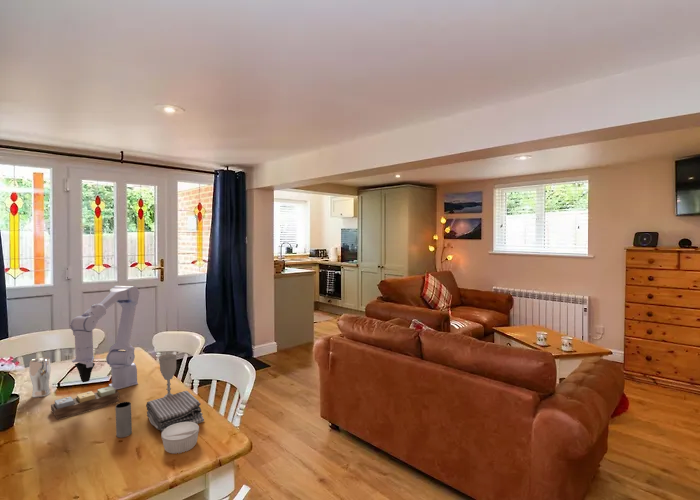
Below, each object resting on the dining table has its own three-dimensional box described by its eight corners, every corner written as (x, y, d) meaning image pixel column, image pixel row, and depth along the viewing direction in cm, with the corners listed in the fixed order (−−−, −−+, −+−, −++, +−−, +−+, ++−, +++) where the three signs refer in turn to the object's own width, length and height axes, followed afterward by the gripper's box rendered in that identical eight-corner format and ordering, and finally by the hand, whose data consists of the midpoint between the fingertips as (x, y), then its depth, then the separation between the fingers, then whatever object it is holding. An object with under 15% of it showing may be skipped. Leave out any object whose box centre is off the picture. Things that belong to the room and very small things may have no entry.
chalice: (155, 402, 155) (154, 358, 154) (169, 395, 161) (168, 353, 160) (169, 405, 152) (167, 360, 151) (182, 398, 159) (181, 355, 158)
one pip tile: (111, 390, 161) (111, 385, 161) (115, 394, 157) (115, 388, 157) (97, 394, 157) (97, 388, 157) (101, 397, 154) (101, 392, 153)
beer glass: (56, 391, 166) (54, 356, 165) (41, 398, 159) (40, 362, 158) (41, 390, 166) (39, 356, 165) (26, 397, 159) (24, 361, 159)
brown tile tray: (112, 393, 164) (111, 386, 163) (120, 401, 156) (120, 394, 156) (50, 410, 148) (49, 402, 148) (56, 420, 141) (56, 412, 141)
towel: (186, 406, 153) (186, 386, 152) (205, 423, 139) (204, 401, 139) (144, 418, 143) (144, 397, 142) (160, 438, 129) (159, 415, 129)
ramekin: (175, 460, 117) (175, 443, 116) (153, 449, 123) (153, 433, 122) (206, 443, 126) (206, 427, 126) (185, 433, 132) (185, 418, 132)
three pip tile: (70, 401, 150) (70, 395, 150) (73, 405, 147) (73, 399, 147) (54, 405, 147) (54, 400, 147) (57, 409, 143) (57, 404, 143)
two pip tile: (91, 395, 156) (91, 390, 155) (95, 399, 152) (95, 394, 152) (76, 399, 152) (76, 394, 152) (80, 403, 148) (79, 398, 148)
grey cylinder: (115, 439, 128) (114, 408, 128) (116, 432, 132) (115, 403, 132) (131, 435, 130) (130, 405, 130) (132, 429, 134) (131, 400, 134)
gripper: (67, 345, 153) (68, 379, 154) (76, 353, 143) (77, 389, 144) (88, 341, 158) (89, 374, 159) (98, 349, 148) (99, 383, 149)
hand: (85, 381), depth 152 cm, fingers closed
